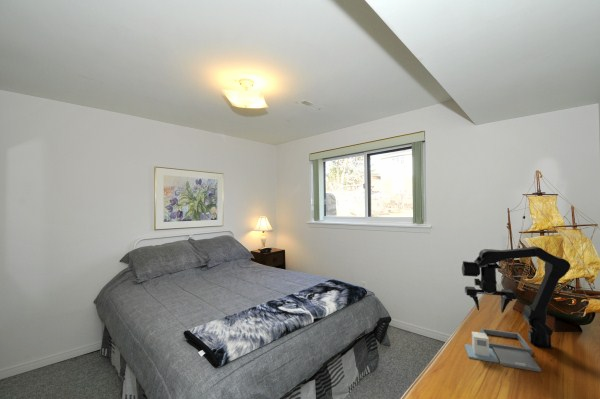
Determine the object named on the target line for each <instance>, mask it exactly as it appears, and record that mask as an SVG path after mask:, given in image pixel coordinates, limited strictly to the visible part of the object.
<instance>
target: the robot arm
mask: <svg viewBox="0 0 600 399" xmlns="http://www.w3.org/2000/svg"><path fill="white" fill-rule="evenodd" d="M534 257H536V258H537V259H539V260H540V261H543V262H544V267H543V268H544V276H543V278H542V281H541V283H540V285H539V288H538V291H537V293H536V295H535V297H534V300H533V301H532V303H531V304H530V305H527V304H525V305H524V308H523V311H521V313H522V318H523V319H524V321H525V322H526V323H527V324H528V325H529V330H528V336H527V337H528V341H529V342H530V343H531V345H532V346H533V347H535V348H542V349H549V350H554V347H553V346H552V335H553V332H554V330H553V329H551V327H550V326H548V325H547V324H546V323H547V319H548V318H547V309H548V306H549V304H550V301H551V300H552V297H553V294H554V292H555V290H556V288H557V285H558V283H559V281H560V279H562V278H563V277H565V276H566V274H567V273H568V272H569V270H571V264H570V262H569V261H568V260H567V259H564V258H562V257H559V256H555V255H553V254H551V253H550V252H548V251H546V250H544V249H543V248H541V247H540V246H535V245H534V246H531V247H530V246H529V247H520V248H511V249H510V248H509V249H502V250H501V249H492V248H490V249H488V248H484V249H481V250H480V252H478V256H477V257H476V259H474V261H466V260H463V261H462V265H461V273H462V274H461V275H462V276H463V277H479V276H480V278H474V279H473V280H474V286H476V287H477V286H478V287H479V289H477V288H475V287H474V286H468V285H467V286H465V287H464V293H465V294H466V296H468V297H469V298H472V300H473V302H474V304H475V308H476V309H477V311H480V304H479V298H478V294H480V295H489V296H499V297H500V299H501V300H500V312H501V313H502V314H503V313H504V311H505V309H506V308H507V306H508V305H509V303H510V302H513V300H517V295H516V293H515V292H514V291H513V290H512V289H509V288H501V290H497V284H498V283H497V282H498V281H497V269H500V270H501V269H502V267H501V266H500V265H499V264H498V263H500V262H503V261H505V260H515V259H523V258H525V259H526V258H534Z"/></svg>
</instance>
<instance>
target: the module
mask: <svg viewBox="0 0 600 399" xmlns="http://www.w3.org/2000/svg"><path fill="white" fill-rule="evenodd" d="M489 341H490V339H489V337H488V334H486V333H480V331H479V332H478V331H471V345H472V349H473V351H474V354H477V355H482V356H488V357H489Z"/></svg>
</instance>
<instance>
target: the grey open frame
mask: <svg viewBox="0 0 600 399" xmlns="http://www.w3.org/2000/svg"><path fill="white" fill-rule="evenodd" d="M479 332H480V333H486V335H490V336H491V335H492V336H497V337H499V336H500V337H503V338H504V337H505V338H512V339H516V340H518V342H519V343H520V344H521V345H522V347H521V346H516V345H507V344H502V343H501V344H500V343H495V342H490V340H489V348H492V350H493V352H494V354H495V355H496V357H497V359H498V361H499V363H500V365H501V366H503V367H505V366H506V367H510V368H517V369H522V370H528V371H532V372H533V371H534V372H539V373H542V368H541V367H540V365H539V364H538V363H537V362H536V361H535V359H534V358H533V357H532V356H533V354H534V353H533V349H532V348H531V346H530V345H529V344H528V343H527V341H526V340H525V339H524V337H522V336H521V333H519V332H513V331H512V332H511V331H503V330H496V329H489V328H484V327H483V328H479Z"/></svg>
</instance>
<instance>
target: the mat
mask: <svg viewBox="0 0 600 399" xmlns="http://www.w3.org/2000/svg"><path fill="white" fill-rule="evenodd" d="M463 346H464V348H465V351H466V354H467V357H468V359H473V360H474V359H475V360H480V361H486V362H491V363H497V364H499V363H500V362H499V360H498V358H497V356H496V354H495V352H494V351H493V349H492V348H489V357H488V356H482V355H477V354H474V351H473V349H472V344H466V343H464V345H463Z"/></svg>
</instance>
